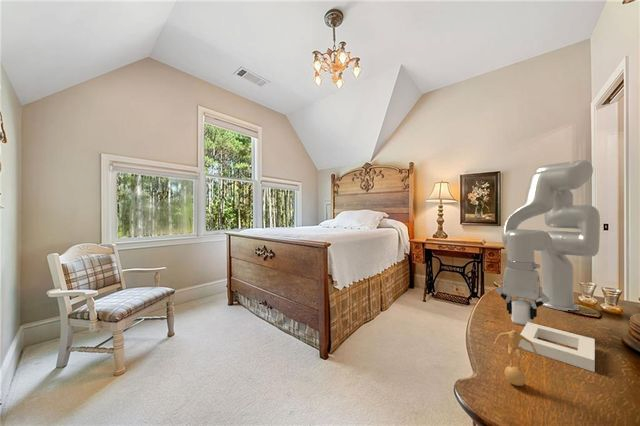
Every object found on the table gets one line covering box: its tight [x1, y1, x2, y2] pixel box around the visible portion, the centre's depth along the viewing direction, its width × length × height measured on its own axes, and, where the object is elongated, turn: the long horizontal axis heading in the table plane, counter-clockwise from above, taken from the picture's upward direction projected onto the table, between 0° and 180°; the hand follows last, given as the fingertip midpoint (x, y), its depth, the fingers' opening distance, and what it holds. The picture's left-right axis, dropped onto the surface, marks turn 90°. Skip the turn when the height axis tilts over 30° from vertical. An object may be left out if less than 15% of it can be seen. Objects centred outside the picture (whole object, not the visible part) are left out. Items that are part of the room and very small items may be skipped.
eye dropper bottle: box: [510, 297, 533, 326], centre depth 87 cm, size 4×6×12 cm
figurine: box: [493, 329, 539, 387], centre depth 58 cm, size 8×6×12 cm
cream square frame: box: [519, 322, 596, 373], centre depth 71 cm, size 15×15×3 cm
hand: (521, 315), depth 87 cm, fingers closed on eye dropper bottle, 5 cm apart
